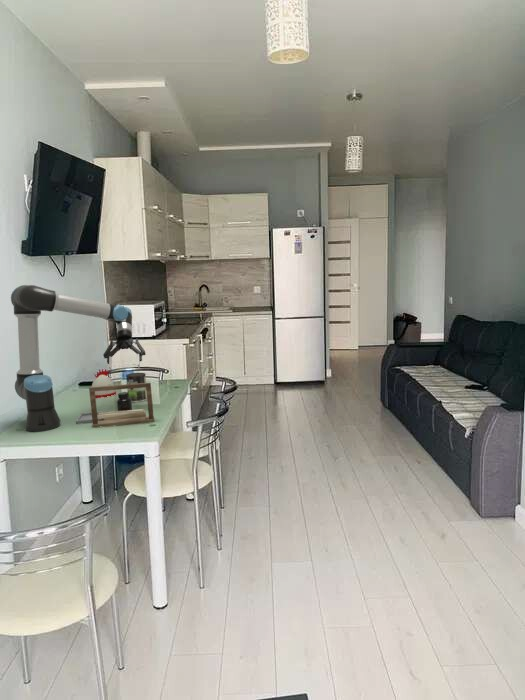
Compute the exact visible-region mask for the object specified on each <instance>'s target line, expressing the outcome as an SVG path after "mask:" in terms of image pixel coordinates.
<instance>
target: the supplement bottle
mask: <svg viewBox="0 0 525 700" xmlns="http://www.w3.org/2000/svg"><path fill="white" fill-rule="evenodd" d="M117 397H118V398H117V401H116V409H117V411H127V410H133V402H132V401H131V398H129V393H128V391H123V392H122V391H121V392H118V394H117Z"/></svg>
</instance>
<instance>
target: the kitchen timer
mask: <svg viewBox="0 0 525 700" xmlns="http://www.w3.org/2000/svg"><path fill="white" fill-rule="evenodd" d="M109 372H110V371H109V370H107V369H106V368H105V369H103V368H102V369H99V370H98V371H96V374H95V373H94V376H95V377H94V378H95V379H93V381H92V384H91V387H102V386H114V385H115V384H114V383H113V380H112V379H111V378H110V377H109ZM114 394H115V395H116V394H117V390H106V391H95V398H96V399H102V398H101V397H104V398H108V397H107V396H110V397H112V396H111V395H114ZM115 395H114V396H115Z"/></svg>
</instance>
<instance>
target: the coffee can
mask: <svg viewBox="0 0 525 700" xmlns="http://www.w3.org/2000/svg"><path fill="white" fill-rule="evenodd" d="M146 375H147V374H146V373H145V372H133V373H127V374H126V375H125V377H126V379H125V380H126V384H139V383H147V379H146V378H147V376H146ZM126 390H127V392H128V393H129V398H131V401H132V403H141V402H140V401H142V402H145V401H144V400H146V401H147V391H146V387H142V388H130V389H126Z"/></svg>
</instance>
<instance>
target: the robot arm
mask: <svg viewBox="0 0 525 700" xmlns="http://www.w3.org/2000/svg"><path fill="white" fill-rule="evenodd" d="M10 301H11V305H12V306H13V315H14V316H15V318H17V332H18V333H17V334H18V335H17V336H18V354H19V355H18V356H19V357H18V358H19V370H18V371H17V372H16V380H15V382H14V390H15V392H16V394H17V395H18V397H19V398H21V399H22V400H25V402H26V411H27V414H26V420H25V424H24V429H26V430H28V431H27V432H32V431H36V432H43V431H50V430H53V429H56V428H58V427H60V426H61V424H62V423H61V419H60V417H59V415H58V412H57V411H56V406H55V399H54V389H53V381H52V377H50V376H49V375H46V374H44V371H43V370H42V369H41V367H40V347H39V345H40V343H39V317H40V316H41V315H42V311H44V312H54V311H59V312H64V313H65V312H66V313H70V314H75V315H76V314H77V315H82V316H87V317H88V316H89V317H94V318H99V319H103V320H106V321H108V322H112V323H114V324H116V341H114V340H110V342H109V345H108V346H107V348H106V350H105V352H103V354H102V355H103V359H106V363H107V365H109V366H108V368H109V370H110V371H112V369H113V368H112V367H113V366H112V363H113V360H112V358H113V356H114V355H115V354H117V352H119V351H120V350H128V349H130V350H132V352H134V353H135V354H136V355H137V367H138V369H140V368H141V362H142V361H143V356H146V355H147V354H146V351H145V349H144V348H143V346H142V345H141V344H140V342H139V339H138V338H136V339H133V313H132V310H131V309H130V308H129V307H127V306H126V307H125V306H124V305H122V304H121V305H120V304H119V305H117V304H112V303H108V302H107V303H106V302H102V301H97V300H92V299H86V298H82V297H81V298H80V297H76V296H71V295H67V294H66V295H65V294H61V293H58V292H57V291H56V290H52V289H47V288H45V287H41V286H37V285H34V284H29V285H27V284H23V285H20V286H17V287H16V288H14V290H13V291H12V292H11V294H10ZM134 344H135V345H136V346H134ZM26 430H25V431H26Z"/></svg>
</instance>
